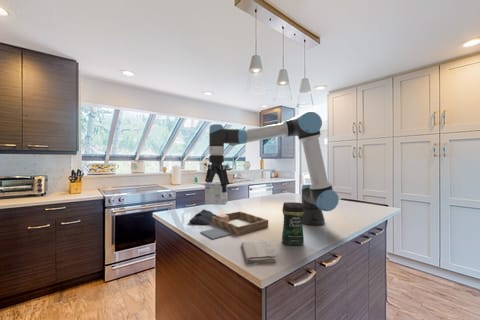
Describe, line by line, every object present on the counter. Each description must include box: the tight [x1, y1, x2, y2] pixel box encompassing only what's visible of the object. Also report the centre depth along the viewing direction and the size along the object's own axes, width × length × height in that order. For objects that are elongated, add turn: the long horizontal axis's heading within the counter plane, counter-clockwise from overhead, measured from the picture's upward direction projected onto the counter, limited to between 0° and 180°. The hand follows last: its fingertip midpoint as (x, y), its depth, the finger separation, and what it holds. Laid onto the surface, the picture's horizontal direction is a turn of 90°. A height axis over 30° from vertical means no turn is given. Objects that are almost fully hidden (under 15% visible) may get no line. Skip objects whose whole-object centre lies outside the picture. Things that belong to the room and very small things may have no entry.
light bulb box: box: [204, 181, 228, 206], centre depth 112 cm, size 11×7×11 cm, turn 84°
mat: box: [200, 227, 234, 240], centre depth 112 cm, size 12×12×1 cm
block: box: [216, 213, 230, 223], centre depth 129 cm, size 5×5×5 cm
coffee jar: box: [281, 201, 305, 246], centre depth 100 cm, size 10×8×19 cm
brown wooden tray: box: [211, 210, 269, 236], centre depth 126 cm, size 26×22×4 cm
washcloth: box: [240, 240, 277, 265], centre depth 89 cm, size 12×18×3 cm, turn 7°
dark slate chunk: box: [188, 209, 217, 226], centre depth 137 cm, size 15×22×5 cm
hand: (216, 197), depth 112 cm, fingers closed on light bulb box, 12 cm apart
